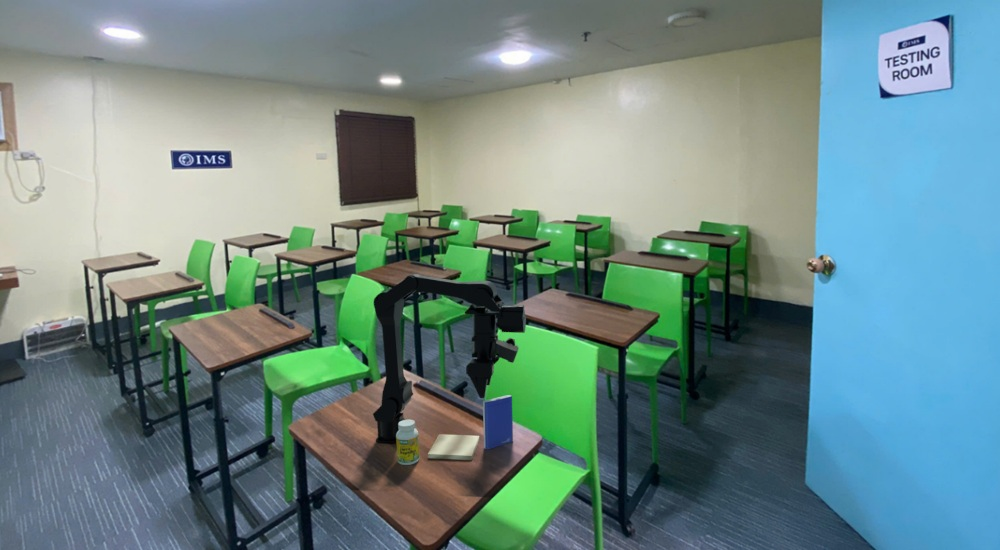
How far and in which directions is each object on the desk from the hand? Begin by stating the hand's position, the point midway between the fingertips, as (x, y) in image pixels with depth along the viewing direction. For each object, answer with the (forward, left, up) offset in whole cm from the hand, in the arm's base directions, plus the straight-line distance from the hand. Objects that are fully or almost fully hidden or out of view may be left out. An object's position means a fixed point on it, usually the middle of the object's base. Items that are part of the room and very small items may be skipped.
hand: (484, 391), depth 120 cm
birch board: (-8, -2, -15) cm, 17 cm away
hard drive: (+3, +1, -15) cm, 15 cm away
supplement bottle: (-18, -9, -15) cm, 25 cm away
